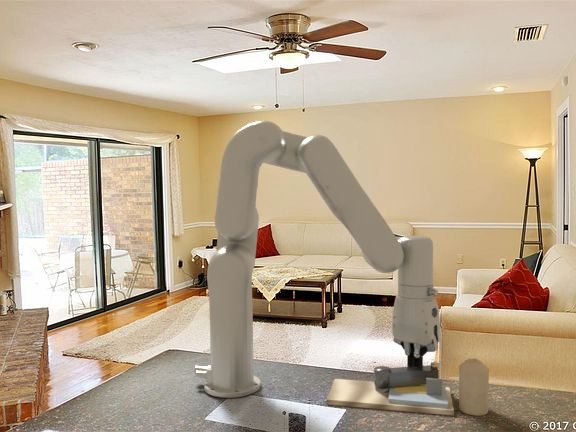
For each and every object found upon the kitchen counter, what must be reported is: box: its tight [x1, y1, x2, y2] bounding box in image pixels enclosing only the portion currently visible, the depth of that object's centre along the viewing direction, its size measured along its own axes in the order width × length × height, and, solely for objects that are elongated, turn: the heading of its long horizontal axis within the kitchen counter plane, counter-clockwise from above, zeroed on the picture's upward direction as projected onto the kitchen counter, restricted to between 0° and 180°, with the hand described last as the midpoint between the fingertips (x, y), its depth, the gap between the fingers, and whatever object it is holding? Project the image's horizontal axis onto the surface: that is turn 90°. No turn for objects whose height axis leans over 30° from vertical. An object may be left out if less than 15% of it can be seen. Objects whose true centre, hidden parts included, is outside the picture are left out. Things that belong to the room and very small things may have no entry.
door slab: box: [389, 378, 448, 408], centre depth 106 cm, size 12×9×4 cm
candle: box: [458, 357, 490, 417], centre depth 102 cm, size 6×6×10 cm
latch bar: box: [373, 361, 440, 388], centre depth 110 cm, size 14×4×4 cm, turn 98°
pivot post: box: [375, 386, 390, 393], centre depth 110 cm, size 3×3×2 cm
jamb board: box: [325, 378, 455, 416], centre depth 108 cm, size 25×12×1 cm, turn 76°
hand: (415, 372), depth 114 cm, fingers closed
